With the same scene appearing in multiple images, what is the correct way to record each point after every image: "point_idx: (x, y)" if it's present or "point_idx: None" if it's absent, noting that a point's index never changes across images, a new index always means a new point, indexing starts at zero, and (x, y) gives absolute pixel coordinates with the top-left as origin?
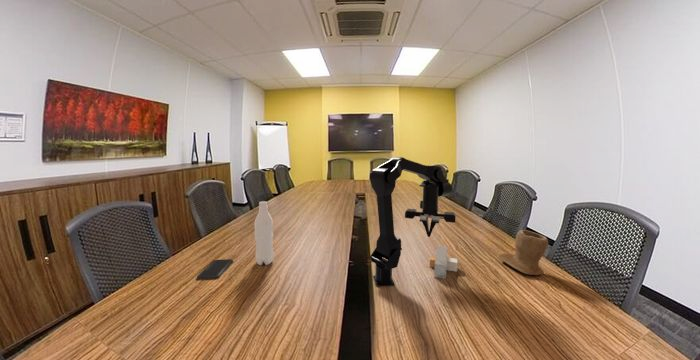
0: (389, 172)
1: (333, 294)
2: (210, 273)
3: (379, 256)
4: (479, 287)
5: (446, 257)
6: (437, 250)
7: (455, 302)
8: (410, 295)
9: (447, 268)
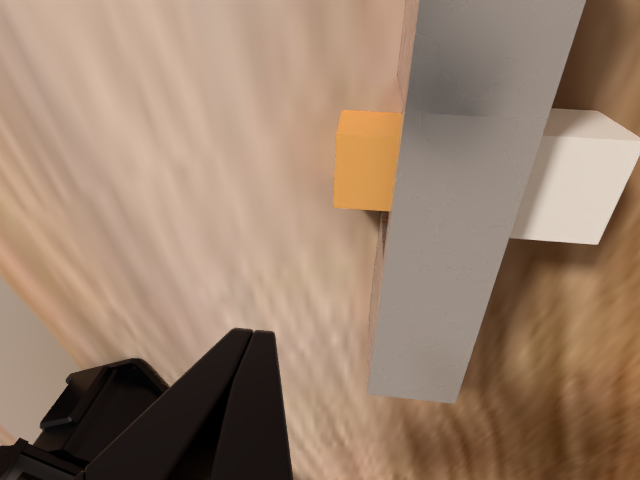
0: None
1: None
2: None
3: (8, 471)
4: (626, 364)
5: (495, 269)
6: (423, 81)
7: (444, 465)
8: None
9: None
